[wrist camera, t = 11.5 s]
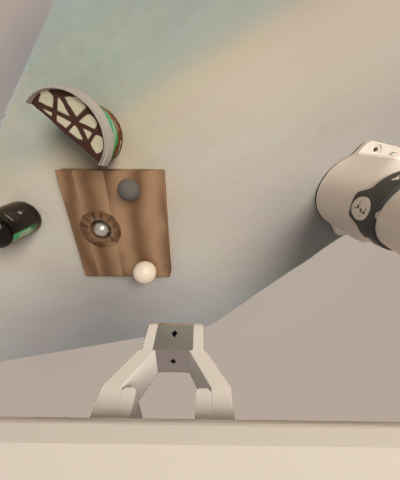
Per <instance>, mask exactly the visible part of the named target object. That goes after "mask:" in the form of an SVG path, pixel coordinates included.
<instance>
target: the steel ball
mask: <svg viewBox="0 0 400 480" xmlns="http://www.w3.org/2000/svg"><path fill="white" fill-rule="evenodd" d="M93 231H94V233H95V234H96V235H98V236H101V237H104V236H107V235H108V234H109V233H110V232H111V227H110V226H109V225H108V224H107V223H106V222H104V221H102V220H100V221H97V222H96V223H95V224H94V226H93Z"/></svg>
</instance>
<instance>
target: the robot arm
mask: <svg viewBox="0 0 400 480" xmlns="http://www.w3.org/2000/svg"><path fill="white" fill-rule="evenodd" d="M374 148H376V149H375V151H373V150H374ZM316 205H317V209H318V212H319V213H320V215H321V216H322V217H323V218H324V219H325V220H326V221H327V222H329V223H330V225H331V227H332V230H333V231H334V233H335V234H337V235H347V234H348V235H349V236H351V237H353V238H355V239H357V240H359V241H361V242H367V241H371V242H372V243H374V244H376V245H378V246H381V247H382V248H385V249H388V250H392V251H395V252H397V253H398V254H400V147H396V146H392V145H388V144H384V143H380V142H376V141H371V140H369V141H366V142H364V143H363V144H362V145H361V146H360V147H359V148H358V149H357V150H356V151H355V152H354V153H353V154H352V155H351V156H349V157H348V158H346V159H344V160H342V161H341V162H339V163H338V164H337V165H335V166H334V167H333V168H332V169H331V170H330V171H329V172H328V173H327V174H326V176H325V177H324V178H323V180H322V182H321V184H320V186H319V188H318V192H317V197H316ZM158 372H186V373H190V375H191V377H192V379H193V381H194V383H195V385H196V387H197V389H198V390H197V391H196V411H195V419H144V418H142V414H141V410H140V405H139V400H140V398H141V397H142V396H143V394H144V393H145V391H146V390H147V389H148V387H149V386H150V384H151V383H152V381H153V380H154V379H155V377H156V376H157V374H158ZM0 480H400V422H364V421H363V422H362V421H357V422H356V421H288V420H287V421H286V420H285V421H284V420H235V418H234V409H233V401H232V392H231V387H230V386H229V384H228V383H227V381H226V380H225V379H224V377H223V375H222V374H221V373H220V371H219V370H218V368H217V367H216V365H215V364H214V362H213V361H212V359H211V358H210V356H209V355H208V353H207V352H206V350H205V351H204V350H203V324H167V323H150V324H149V326H148V329H147V333H146V336H145V340H144V343H143V347H142V350H138V351H137V352H136V353H135V354H134V355H133V356H132V357H131V358H130V359H129V360H128V361H127V362H126V363H125V364H124V365H123V366H122V367H121V368H120V369H119V370H118V371H117V372H116V373H115V374H114V375H113V376H112V377H111V378H110V379H109V380H108V381H107V382H106V383H105V384H104V385H103V387H102V389H101V392H100V394H99V396H98V399H97V401H96V404H95V406H94V409H93V411H92V414H91V416H90V418H68V417H64V418H63V417H0Z"/></svg>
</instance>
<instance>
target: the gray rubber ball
mask: <svg viewBox="0 0 400 480" xmlns="http://www.w3.org/2000/svg"><path fill="white" fill-rule="evenodd" d="M117 191H118V194H119V196H120V197H121V198H122V199H124V200H126V201H133V200H135V199H137V198H138V197H139V195H140V186H139V184H138V183H137V182H136V181H135V180H133V179H123V180H122V181H120V183H119V184H118V187H117Z"/></svg>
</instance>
